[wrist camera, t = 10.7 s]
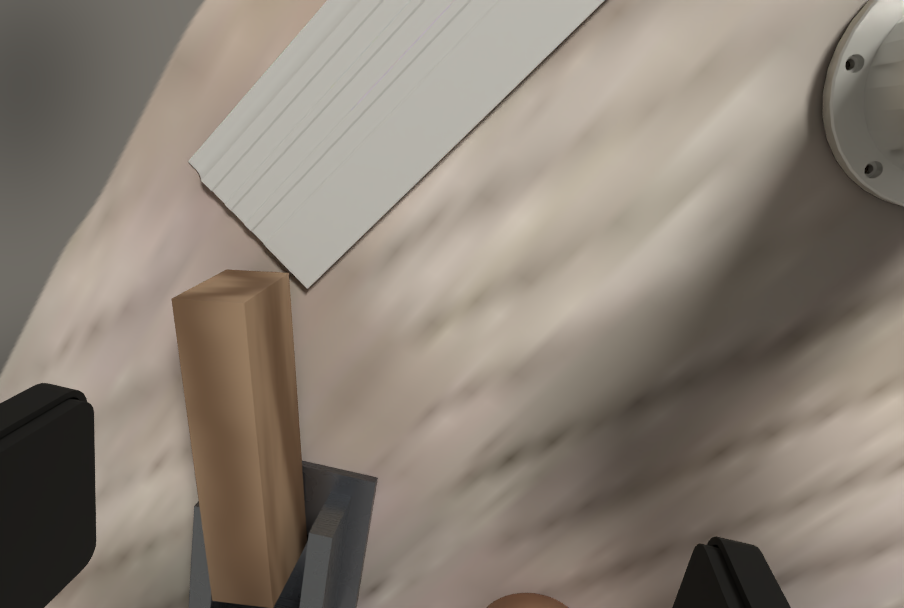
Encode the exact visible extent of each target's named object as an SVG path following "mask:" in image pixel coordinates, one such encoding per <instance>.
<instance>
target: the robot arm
mask: <svg viewBox="0 0 904 608" xmlns="http://www.w3.org/2000/svg"><path fill="white" fill-rule="evenodd" d="M847 60H848V61H849V62H850V67H849V69H848V70H847V69H846V67H845V65H846V61H847ZM823 122H824V127H825V132H826V137H827V141H828V143H829V145H830V148H831V150H832V152H833V155H834V157H835V159H836V161H837V162H838V163H839V165H840V166H841V167H842V169H843V170H844V171H845V173H846V174H847V175H848V177H849V178H851V179H852V180H853V181H854V182H855V183H856V184H858V185H859V186H860V187H861V188H862V189H863V190H865V191H867V192H869V193H870V194H872V195H874V196H876V197H878V198H880V199H882V200H883V201H887V202H890V203H894V204H897V205H901V206H904V0H869V1H868V2H867V3H866V4H865V6H864V7H863V8H862V9H861V10H860V12H859V13H858V14H857V15H856V16H855V17H854V19H853V20H852V21H851V23H850V25H849V26H848V28H847V29H846V31H845V33H844V34H843V36H842V38H841V39H840V41H839V43H838V45H837V47H836V50H835V52H834V55H833V57H832V60H831V62H830V65H829V67H828V71H827V76H826V80H825V85H824V90H823ZM867 164H868V166H869V169H868V171H867V172H866V173H864V172H865V167H866V166H867ZM95 547H96V504H95V447H94V410H93V407H92V405H91V404H89V403H88V402H87V400H86V397H85V395H84V393H82V392H80V391H78V390H74V389H70V388H65V387H61V386H57V385H52V384H48V383H40V384H37V385H35V386H33V387H31V388H29V389H27V390H25V391H23V392H21V393H19V394H17V395H16V396H14V397H12V398H10V399H8V400H6V401H4V402H2V403H0V608H44V607H45V606H46V605H47V604H48V603H49V602H50V601H51V600H52V599H53V598H54V597H55V596H56V595H57V594H58V593H59V592H60V591H61V590H62V589H63V588H64V587H65V586H66V585H67V584H68V583H69V582H70V581H72V580H73V579H74V578H75V577H76V576H77V575H78V574H79V573H80V572H81V571H82V570H83V569H84V567H85V566H86V565H87V564H88V562H89V561H90V559H91V557H92V555H93V553H94V550H95ZM673 608H791V607H790V605H789V604H788V602H787V600H786V598H785V596H784V594H783V592H782V590H781V588H780V587H779V585H778V583H777V581H776V579H775V577H774V575H773V573H772V571H771V569H770V568H769V566H768V564H767V562H766V560H765V558H764V556H763V554H762V552H761V551H760V550H759V548H758V547H756V546H754V545H750V544H746V543H742V542H737V541H733V540H729V539H724V538H720V537H713V538H711V539H710V541H709V542H708V544H707V545H704V544H698V545H697V546H696V547H695V549H694V551H693V553H692V556H691V558H690V561H689V564H688V567H687V569H686V572H685V575H684V578H683V580H682V583H681V586H680V589H679V591H678V594H677V597H676V599H675V602H674V605H673Z"/></svg>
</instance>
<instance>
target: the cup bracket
mask: <svg viewBox="0 0 904 608" xmlns="http://www.w3.org/2000/svg"><path fill="white" fill-rule="evenodd" d="M302 472H303V487H304V501H305V516H306V530H307V544H306V546H305V548H304V550H303V551H302V553H301V555H300V557H299V559H298V561H297V563H296V565H295V567H294V569H293V571H292V573H291V575H290V577H289V578H288V580H287V582H286V584H285V586H284V588H283V590H282V592H281V594H280V596H279V598H278V600H277V602H276V604H275V605H274V607H273V608H356V607H357V601H358V595H359V589H360V583H361V577H362V571H363V564H364V558H365V552H366V546H367V540H368V534H369V528H370V522H371V516H372V510H373V504H374V498H375V491H376V485H377V479H378V478H376V477H372V476H367V475H363V474H359V473H354V472H350V471H345V470H341V469H336V468H332V467H328V466H323V465H319V464H314V463H310V462H306V461H302ZM189 608H267V607H259V606H251V605H242V604H234V603H226V602H218V601H212V595H211V587H210V580H209V573H208V565H207V558H206V550H205V543H204V536H203V528H202V521H201V513H200V506H199V501H198V502H197V504H196V505H195V506H194V523H193V540H192V558H191V576H190V594H189Z"/></svg>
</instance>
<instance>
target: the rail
mask: <svg viewBox="0 0 904 608" xmlns="http://www.w3.org/2000/svg"><path fill="white" fill-rule="evenodd" d="M172 306H173V313H174V321H175V328H176V335H177V343H178V350H179V358H180V365H181V373H182V380H183V387H184V395H185V402H186V410H187V417H188V424H189V432H190V439H191V447H192V454H193V461H194V469H195V476H196V484H197V491H198V498H199V506H200V513H201V521H202V528H203V536H204V543H205V550H206V558H207V565H208V573H209V580H210V587H211V595H212V601H218V602H226V603H234V604H242V605H251V606H259V607H267V608H273V607H274V605H275V604H276V602H277V600H278V598H279V596H280V594H281V592H282V590H283V588H284V586H285V584H286V582H287V580H288V578H289V577H290V575H291V573H292V571H293V569H294V567H295V565H296V563H297V561H298V559H299V557H300V555H301V553H302V551H303V550H304V548H305V546H306V544H307V530H306V516H305V501H304V487H303V472H302V458H301V443H300V429H299V414H298V400H297V385H296V371H295V356H294V342H293V327H292V313H291V298H290V284H289V273H280V272H261V271H243V270H225V271H223V272H221V273H219V274H218V275H216V276H214V277H212V278H210V279H208V280H206V281H204V282H202V283H200V284H199V285H197V286H195V287H193V288H191V289H189V290H187V291H185V292H183V293H182V294H180V295H178V296H176V297H174V298H172Z"/></svg>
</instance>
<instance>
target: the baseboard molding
mask: <svg viewBox="0 0 904 608" xmlns="http://www.w3.org/2000/svg"><path fill="white" fill-rule="evenodd" d="M604 1H605V0H327V1H326V2H325V3H324V4H323V6H322V7H321V8H320V9H319V10H318V11H317V13H316V14H315V15H314V16H313V17H312V18H311V20H310V21H309V22H308V23H307V24H306V25H305V26H304V28H303V29H302V30H301V31H300V32H299V33H298V35H297V36H296V37H295V38H294V39H293V40H292V42H291V43H290V44H289V45H288V46H287V47H286V48H285V50H284V51H283V52H282V53H281V54H280V55H279V57H278V58H277V59H276V60H275V61H274V62H273V64H272V65H271V66H270V67H269V68H268V69H267V71H266V72H265V73H264V74H263V75H262V76H261V77H260V79H259V80H258V81H257V82H256V83H255V84H254V86H253V87H252V88H251V89H250V90H249V91H248V93H247V94H246V95H245V96H244V97H243V98H242V100H241V101H240V102H239V103H238V104H237V105H236V106H235V108H234V109H233V110H232V111H231V112H230V113H229V115H228V116H227V117H226V118H225V119H224V120H223V122H222V123H221V124H220V125H219V126H218V127H217V129H216V130H215V131H214V132H213V133H212V134H211V135H210V137H209V138H208V139H207V140H206V141H205V142H204V144H203V145H202V146H201V147H200V148H199V149H198V151H197V152H196V153H195V154H194V155H193V156H192V157H191V159H190V160H189V161H188V162H189V163H190V164H191V165H192V166H193V167H194V168H195V169H196V170H197V171H198V173H199V174H200V177H201V181H202V182H203V183H204V184H205V185H206V186H207V187H208V188H209V189H210V190H211V191H213V192H214V193H215V194H216V195H217V196H218V197H219V198H220V199H221V200H222V201H223V202H224V204H225V205H226V206H227V207H228V209H229V210H231V211H232V212H233V213H234V214H235V215H236V216H237V217H238V218H239V219H240V220H241V221H242V222H243V223H244V225H245V226H246V227H247V228H248V229H249V230H250V231H252V232H253V233H254V234H255V235H256V236H257V237H258V238H259V239H260V240H261V241H262V242H263V243H264V245H265V246H266V247H267V248H268V249H269V250H270V251H271V252H272V253H273V254H274V255H275V256H276V257H277V258H278V259H279V261H280V262H281V263H282V264H283V265H284V266H285V267H286V268H287V269H288V270H289V271H290V272H291V273H292V274H293V275H294V276H295V277H296V278H297V279H298V280H299V281H300V282H301V283H302V284H303V285H304V286H305V287H306V288H307V289H308V288H309V287H310V286H311V285H312V284H313V283H314V282H316V281H317V280H318V279H319V278H320V277H321V276H322V275H323V274H324V273H325V272H326V271H327V270H328V269H329V268H330V267H331V266H332V265H333V264H334V263H335V262H336V261H337V260H338V259H339V258H340V257H341V256H342V255H343V254H344V253H345V252H346V251H347V250H348V249H350V248H351V247H352V246H353V245H354V244H355V243H356V242H357V241H358V240H359V239H360V238H361V237H362V236H363V235H364V234H365V233H366V232H367V231H368V230H369V229H370V228H371V227H372V226H373V225H374V224H375V223H376V222H377V221H378V220H379V219H380V218H381V217H382V216H383V215H385V214H386V213H387V212H388V211H389V210H390V209H391V208H392V207H393V206H394V205H395V204H396V203H397V202H398V201H399V200H400V199H401V198H402V197H403V196H404V195H405V194H406V193H407V192H408V191H409V190H410V189H411V188H412V187H413V186H414V185H415V184H416V183H417V182H419V181H420V180H421V179H422V178H423V177H424V176H425V175H426V174H427V173H428V172H429V171H430V170H431V169H432V168H433V167H434V166H435V165H436V164H437V163H438V162H439V161H440V160H441V159H442V158H443V157H444V156H445V155H446V154H447V153H448V152H449V151H450V150H451V149H452V148H454V147H455V146H456V145H457V144H458V143H459V142H460V141H461V140H462V139H463V138H464V137H465V136H466V135H467V134H468V133H469V132H470V131H471V130H472V129H473V128H474V127H475V126H476V125H477V124H478V123H479V122H480V121H481V120H482V119H483V118H484V117H485V116H486V115H488V114H489V113H490V112H491V111H492V110H493V109H494V108H495V107H496V106H497V105H498V104H499V103H500V102H501V101H502V100H503V99H504V98H505V97H506V96H507V95H508V94H509V93H510V92H511V91H512V90H513V89H514V88H515V87H516V86H517V85H518V84H519V83H520V82H521V81H523V80H524V79H525V78H526V77H527V76H528V75H529V74H530V73H531V72H532V71H533V70H534V69H535V68H536V67H537V66H538V65H539V64H540V63H541V62H542V61H543V60H544V59H545V58H546V57H547V56H548V55H549V54H550V53H551V52H552V51H553V50H554V49H555V48H557V47H558V46H559V45H560V44H561V43H562V42H563V41H564V40H565V39H566V38H567V37H568V36H569V35H570V34H571V33H572V32H573V31H574V30H575V29H576V28H577V27H578V26H579V25H580V24H581V23H582V22H583V21H584V20H585V19H586V18H587V17H588V16H589V15H590V14H592V13H593V12H594V11H595V10H596V9H597V8H598V7H599V6H600V5H601V4H602V3H603V2H604Z"/></svg>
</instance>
